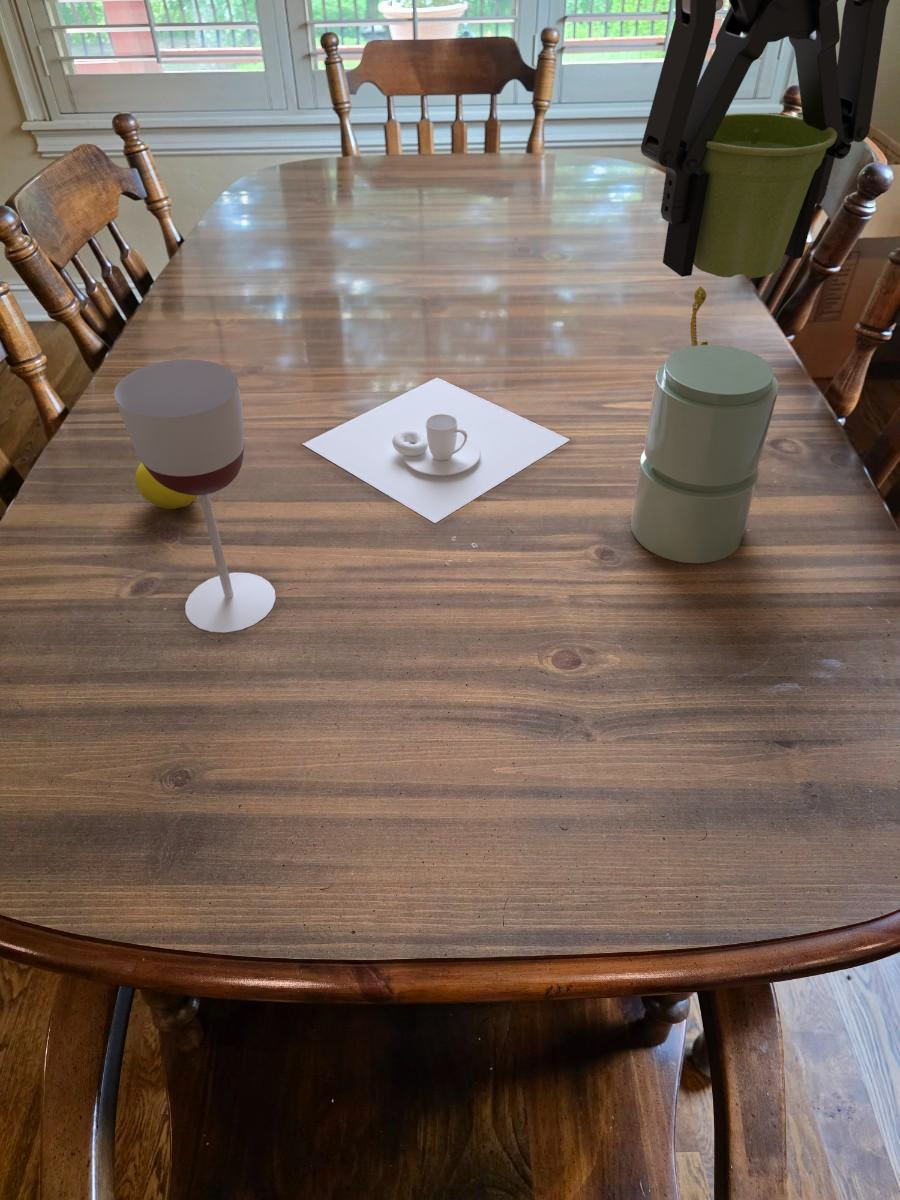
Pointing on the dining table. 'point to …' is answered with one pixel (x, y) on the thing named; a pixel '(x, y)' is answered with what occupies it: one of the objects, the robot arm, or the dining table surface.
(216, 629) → the wineglass
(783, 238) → the plant pot
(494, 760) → the dining table surface
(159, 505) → the lemon
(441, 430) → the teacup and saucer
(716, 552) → the cup stack
